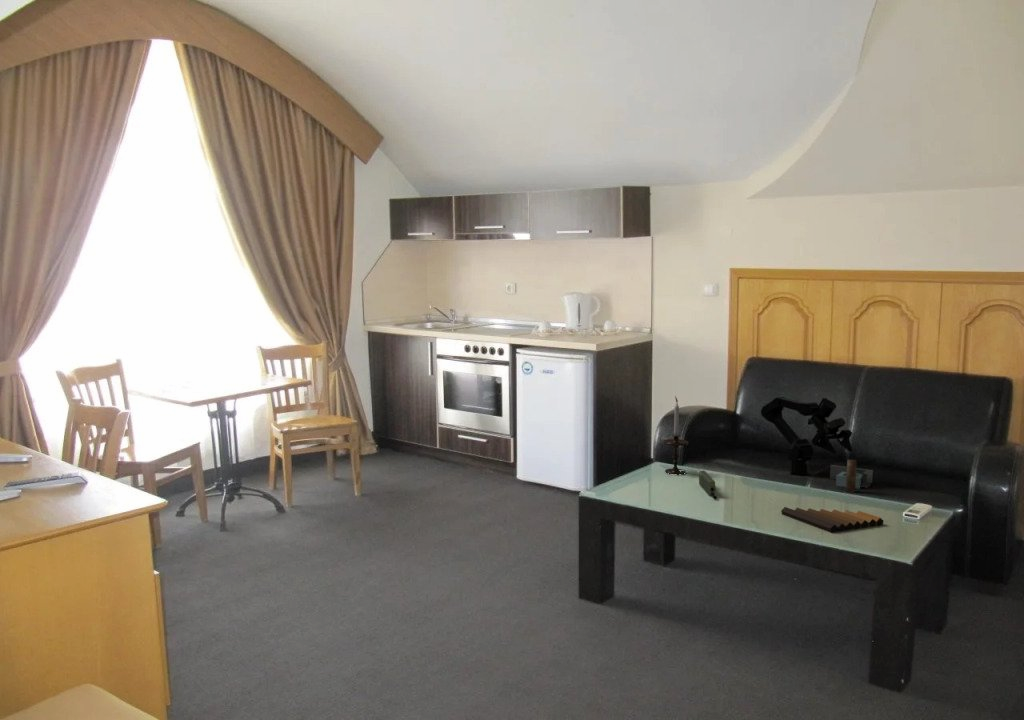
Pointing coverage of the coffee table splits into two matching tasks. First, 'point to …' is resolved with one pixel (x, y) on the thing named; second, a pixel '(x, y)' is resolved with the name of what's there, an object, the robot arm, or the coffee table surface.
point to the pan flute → (833, 519)
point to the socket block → (843, 476)
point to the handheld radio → (707, 484)
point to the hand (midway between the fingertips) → (843, 452)
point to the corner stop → (865, 473)
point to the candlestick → (675, 443)
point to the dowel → (851, 476)
